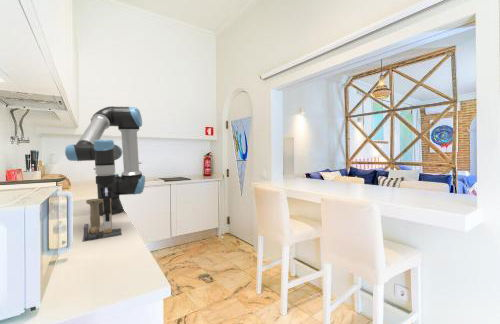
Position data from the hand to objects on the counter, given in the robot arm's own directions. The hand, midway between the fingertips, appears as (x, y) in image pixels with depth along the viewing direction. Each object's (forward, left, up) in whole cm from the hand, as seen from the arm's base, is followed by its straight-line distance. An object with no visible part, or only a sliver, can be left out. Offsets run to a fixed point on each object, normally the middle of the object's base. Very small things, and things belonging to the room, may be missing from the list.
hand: (107, 226), depth 110 cm
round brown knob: (+2, -5, -3) cm, 6 cm away
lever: (0, 0, -3) cm, 3 cm away
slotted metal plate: (+1, -2, -5) cm, 5 cm away
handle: (-10, -10, -5) cm, 15 cm away
